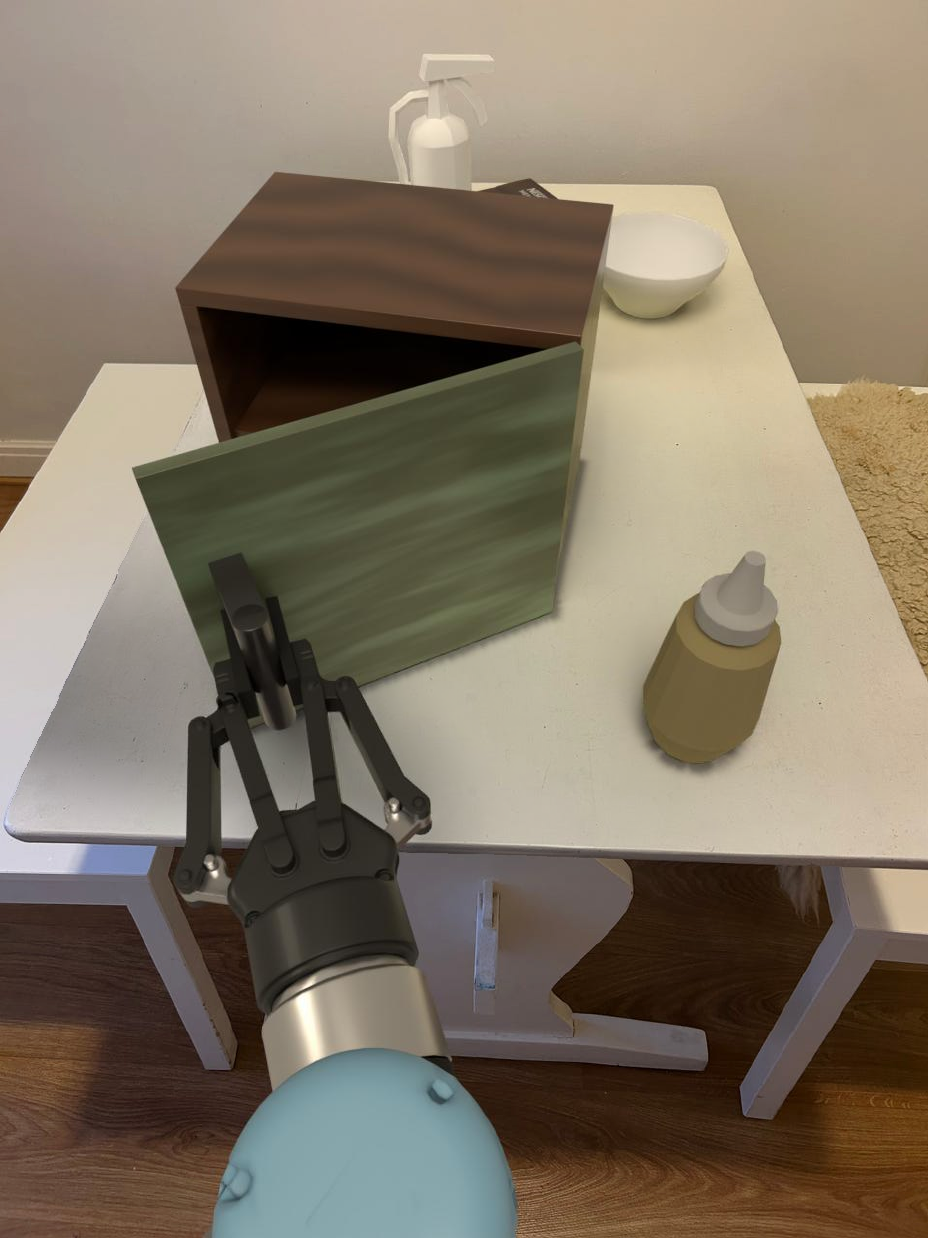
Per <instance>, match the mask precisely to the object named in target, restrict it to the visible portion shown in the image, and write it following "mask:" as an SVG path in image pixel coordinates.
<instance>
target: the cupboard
mask: <svg viewBox="0 0 928 1238" xmlns="http://www.w3.org/2000/svg"><path fill="white" fill-rule="evenodd" d="M479 191H480V190H472V191H469V190H459V189H448V188H438V187H428V186H417V185H411V184H409V185H407V184H400V183H396V182H386V181H375V180H364V179H355V178H343V177H334V176H323V175H314V174H313V175H312V174H301V173H294V172H293V173H292V172H284V171H283V172H281V171H274V172H273V173H272V175H270V177H269V178H268V179H267V180H266V181H265V183H263V185H262V186H261V187H260V189H258V191H257V192H256V193H255V194H254V195H253V197H252V198H251V199H250V200H249V201H248V202H247V204H245V206H244V207H243V208H242V209H241V211H239V212H238V214H237V215H236V216H235V217H234V218H233V220H232V221H231V222H230V223H229V224H228V225H227V226H226V228H224V230H223V231H222V233H221V234H219V236H218V237H217V238H216V239H215V241H214V242H213V243H212V244H211V245H210V246H209V247H208V249H207V250H206V251H205V252H204V254H202V255H201V256H200V258H199V259H198V260H197V261H196V262H195V264H194V265H193V266H192V267H191V268H190V269H189V270H188V272H187V273H186V274H185V275H184V277H182V279H181V280H180V281H179V282H178V284H177V285H176V286H175V287H174V289H175V292H176V296H177V299H178V303H179V307H180V311H181V313H182V317H183V321H184V324H185V329H186V332H187V335H188V338H189V342H190V346H191V350H192V353H193V357H194V359H195V363H196V367H197V371H198V374H199V377H200V380H201V385H202V388H203V391H204V395H205V399H206V402H207V406H208V409H209V413H210V415H211V416H210V417H211V421H212V424H213V427H214V432H215V434H216V437H217V441H218V443H220V442H224V441H227V440H231V439H234V438H238V437H241V436H245V435H248V434H252V433H255V432H259V431H262V430H266V429H269V428H273V427H276V426H280V425H283V424H287V423H290V422H294V421H297V420H301V419H304V418H308V417H311V416H315V415H319V414H322V413H326V412H329V411H333V410H336V409H340V408H343V407H347V406H350V405H354V404H357V403H361V402H364V401H368V400H371V399H375V398H378V397H382V396H385V395H389V394H392V393H396V392H399V391H403V390H406V389H410V388H413V387H417V386H421V385H424V384H428V383H431V382H435V381H438V380H442V379H445V378H449V377H452V376H456V375H459V374H463V373H466V372H470V371H473V370H477V369H480V368H484V367H487V366H491V365H494V364H498V363H501V362H505V361H508V360H512V359H516V358H519V357H523V356H526V355H530V354H533V353H537V352H540V351H544V350H547V349H551V348H554V347H558V346H561V345H565V344H568V343H572V342H577V343H578V344H579V345H580V346H581V347H582V348H583V349H584V354H583V362H582V370H581V378H580V386H579V395H578V403H577V411H576V419H575V427H574V435H573V444H572V452H571V460H570V468H569V476H568V485H567V493H566V501H565V509H564V517H563V525H562V534H561V542H560V550H559V558H558V564H559V562H560V559H561V553H562V549H563V544H564V539H565V536H566V535H565V534H566V531H567V524H568V520H569V516H570V512H571V511H570V510H571V505H572V500H573V497H574V496H573V495H574V491H575V486H576V480H577V476H578V472H579V467H580V461H581V453H582V447H583V440H584V432H585V425H586V424H585V423H586V416H587V408H588V401H589V393H590V386H591V379H592V371H593V363H594V356H595V349H596V342H597V341H596V340H597V335H598V334H597V333H598V327H599V318H600V311H601V303H602V298H603V297H602V296H603V290H604V288H603V282H604V274H605V267H606V259H607V252H608V244H609V237H610V229H611V221H612V216H613V213H614V204H612V203H604V202H603V203H601V202H593V201H592V202H591V201H581V200H571V199H563V198H561V199H560V198H558V199H552V198H541V197H531V196H521V195H510V194H500V193H490V192H479ZM558 568H559V565H558V566H557V569H558Z"/></svg>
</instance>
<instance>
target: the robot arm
mask: <svg viewBox="0 0 928 1238" xmlns="http://www.w3.org/2000/svg"><path fill="white" fill-rule="evenodd" d="M265 600H266V604H267V608H268V612H269V616H270V620H271V624H272V628H273V632H274V636H275V639H276V643H277V647H278V650H279V654H280V659H281V663H282V667H283V671H284V675H285V679H286V682H287V686H288V689H289V693H290V696H291V700H292V703H293V707H294V706H298V705H301V704H303V708H302V709H303V715H304V721H305V729H306V735H307V736H306V738H307V743H308V752H309V760H310V766H311V767H310V768H311V774H312V788H313V796H314V800H312V801H310V802H309V803H307V804H305V805H303V806H302V807H300V808H296V809H281V810H280V809H279V806H278V803H277V800H276V798H275V794H274V792H273V789H272V786H271V783H270V780H269V778H268V775H267V772H266V769H265V767H264V763H263V761H262V758H261V755H260V752H259V749H258V746H257V744H256V740H255V738H254V735H253V733H252V728H250V726H249V724H248V719H251V718H255V717H259V716H260V713H259V708H258V704H257V699H256V695H255V690H254V688H253V685H252V682H251V679H250V676H249V673H248V670H247V667H246V664H245V661H244V658H243V655H242V652H241V649H240V646H239V644H238V641H237V639H236V636H235V634H234V631H233V629H232V626H231V624H230V621H229V619H228V616H227V614H226V611H225V609H222V610H220V611H221V615H222V620H223V625H224V630H225V635H226V639H227V644H228V649H229V654H230V659H227V660H223V661H220V662H216V663H215V665H214V668H213V673H214V677H213V679H214V678H215V679H214V684H215V688H216V693H217V694H216V695H217V696H216V699H215V701H216V702H215V703H216V706H217V708H216V709H215V711H214V712H212V713H211V714H209V715H207V716H202V715H199V716H196V717H194V718H192V719H191V720H190V721H189V723H188V725H187V761H186V762H187V763H186V764H187V765H186V777H187V778H186V818H185V819H186V823H185V844H184V847H183V849H182V852H181V855H180V856H179V860H178V862H177V865H176V867H175V870H174V872H173V874H172V883H173V885H174V887H175V888H176V890H177V891H178V893H179V894H180V896H181V897H182V899H183V900H184V902H185V904H187V906H189V907H190V908H192V909H199V908H200V907H203V906H205V904H207V903H213V904H220V905H226V906H228V907H229V908H230V910H231V911H232V913H233V915H234V917H235V918H236V919H238V921H239V922H240V923H241V925H242V928H243V932H244V937H245V938H244V939H245V945H246V949H247V955H248V961H249V966H250V967H249V968H250V972H251V977H252V983H253V989H254V994H255V1001H256V1007H257V1008H258V1009H259V1011H261V1012H262V1013H264V1014H265V1015H266V1016H267V1017H266V1020H265V1021H264V1023H263V1024H262V1026H261V1036H262V1042H263V1047H264V1054H265V1058H266V1063H267V1069H268V1074H269V1079H270V1084H271V1090H272V1092H270V1094H269V1095H268V1096H267V1097H266V1098H265V1099H264V1100H263V1101H262V1102H261V1103H260V1104H259V1106H258V1107H257V1108H256V1110H255V1111H254V1113H253V1114H252V1115H251V1117H250V1118H249V1119H248V1121H247V1123H246V1125H245V1126H244V1128H243V1129H242V1131H241V1133H240V1134H239V1136H238V1137H237V1140H236V1141H235V1143H234V1146H233V1148H232V1150H231V1152H230V1154H229V1157H228V1164H227V1167H226V1169H225V1171H224V1173H223V1176H222V1177H221V1180H220V1183H219V1184H220V1185H219V1190H218V1195H217V1200H216V1203H215V1206H214V1209H213V1219H212V1224H211V1225H210V1226H209V1228H208V1229H207V1231H206V1232H205V1233H204V1234H203V1236H202V1237H201V1238H517V1233H516V1232H517V1231H516V1230H517V1228H518V1225H519V1221H520V1220H519V1217H518V1213H517V1209H518V1203H519V1202H518V1197H517V1193H516V1192H517V1191H516V1187H515V1183H514V1179H513V1174H512V1171H511V1168H510V1166H509V1163H508V1161H507V1157H506V1153H505V1151H504V1148H503V1145H502V1143H501V1141H500V1138H499V1137H498V1134H497V1132H496V1129H495V1128H494V1126H493V1124H492V1122H491V1121H490V1119H489V1118H488V1117H487V1115H486V1114H485V1112H484V1111H483V1109H482V1107H481V1106H480V1105H479V1103H478V1102H477V1101H476V1100H475V1098H474V1097H473V1096H472V1095H471V1093H470V1092H469V1091H468V1090H467V1089H466V1088H465V1087H464V1086H463V1085H462V1084H461V1083H460V1081H459V1080H458V1079H457V1077H456V1073H455V1069H454V1065H453V1062H452V1061H453V1058H452V1055H451V1052H450V1049H449V1045H448V1042H447V1039H446V1038H447V1037H446V1035H445V1032H444V1029H443V1026H442V1022H441V1019H440V1016H439V1012H438V1009H437V1007H436V1003H435V999H434V996H433V993H432V990H431V987H430V983H429V980H428V977H427V976H426V973H425V971H423V970H421V969H420V968H418V967H415V966H416V965H417V964H416V963H417V961H418V959H419V953H420V952H419V948H418V944H417V941H416V939H415V934H414V931H413V928H412V926H411V922H410V918H409V915H408V912H407V908H406V905H405V902H404V899H403V895H402V892H401V889H400V885H399V882H398V878H397V877H398V870H399V866H400V853H399V852H400V850H401V849H402V848H403V847H404V846H405V845H406V844H407V843H408V842H410V840H411V839H412V838H413V837H414V836H416V835H417V836H424V835H427V834H428V833H429V832H431V830H432V829H433V817H432V816H433V815H432V803H431V798H430V797H429V796H428V795H427V794H426V793H425V792H424V791H423V790H422V789H420V788H419V787H418V786H417V785H416V784H415V783H414V782H412V781H411V780H410V779H409V778H408V777H407V776H406V775H405V774H404V772H403V771H402V768H401V766H400V765H399V763H398V761H397V759H396V756H395V755H394V752H393V751H392V749H391V747H390V745H389V743H388V741H387V739H386V738H385V736H384V733H383V732H382V730H381V728H380V726H379V724H378V722H377V720H376V719H375V717H374V715H373V713H372V711H371V709H370V707H369V705H368V703H367V702H366V701H367V700H366V699H365V697H364V695H363V693H362V692H361V689H360V687H359V686H357V684H356V682H355V680H354V679H353V678H351V677H349V676H343V677H340V678H338V679H337V680H336V681H328V680H325V679H323V678H322V677H321V676H320V674H319V671H318V668H317V664H316V661H315V657H314V654H313V650H312V647H311V644H310V643H309V642H308V640H307V639H306V638H305V639H301V640H298V641H294V642H290V641H289V638H288V634H287V630H286V627H285V623H284V619H283V615H282V612H281V608H280V604H279V600H278V597H277V596H274V597H270V598H266V599H265ZM330 713H339V714H340V715H341V718H342V719H343V721H344V723H345V725H346V727H347V729H348V731H349V733H350V735H351V738H352V739H353V741H354V743H355V745H356V748H357V749H358V752H359V753H360V756H361V758H362V760H363V762H364V764H365V766H366V768H367V770H368V772H369V774H370V776H371V778H372V780H373V782H374V784H375V786H376V788H377V790H378V792H379V794H380V796H381V798H382V800H383V802H384V805H383V809H382V811H383V818H384V820H385V823H386V824H387V825H386V827H385V829H383V828H382V827H381V826H379V825H377V824H376V823H374V822H373V821H372V820H370V819H369V818H367V817H366V816H364V815H362V814H361V813H360V812H359V811H357V810H356V809H354V808H352V807H351V806H349V805H348V804H346V803H345V802H343V798H342V792H341V786H340V785H341V784H340V778H339V772H338V766H337V759H336V753H335V747H334V740H333V734H332V726H331V719H330ZM227 743H230V747H231V749H232V753H233V756H234V758H235V761H236V765H237V767H238V771H239V774H240V777H241V780H242V782H243V786H244V789H245V792H246V796H247V798H248V801H249V805H250V808H251V811H252V814H253V818H254V820H255V823H256V824H255V825H256V826H257V828H256V830H255V831H254V833H253V835H252V837H251V839H250V841H249V842H248V845H247V847H246V849H245V851H244V853H243V855H242V857H241V859H240V861H239V863H238V865H237V866H236V869H235V872H234V873H233V875H232V877H229V866H228V865H227V864H226V861H225V860H224V858H223V857H222V855H223V854H222V850H223V847H222V846H223V842H222V841H223V840H222V839H223V837H222V835H223V834H222V765H221V763H222V762H221V761H222V759H221V757H222V756H221V752H222V751H221V746H223V745H225V744H227Z"/></svg>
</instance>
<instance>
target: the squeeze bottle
mask: <svg viewBox="0 0 928 1238" xmlns="http://www.w3.org/2000/svg"><path fill="white" fill-rule="evenodd" d="M766 563H767V559H766V556H765V555H764V554H763V553H762V552H760V551H758V550H749V551H747V552H745V554H744V555H743V556H742V558H741V559H740V560H739V562H738V563H737V564H736V566H735V567H734V568H733V570H732V571H731V572H727V573H722V574H717V575H714V576H712V577H711V578H709V579H707V580H706V581H704V583H703V584H702V587H701V589H700V590H699V592H697V593H695V594H694V595H692V596H691V597H689V598H688V599H686V600H685V601H683V603H682V604H681V606H680V608H679V609H678V611H677V613H676V614H675V616H674V619H673V621H672V623H671V624H670V627H669V629H668V631H667V634H666V635H665V638H664V640H663V642H662V644H661V646H660V649H659V650H658V653H657V654H656V657H655V660H654V661H653V663H652V665H651V667H650V670H649V671H648V674H647V676H646V678H645V680H644V682H643V684H642V706H643V711H644V714H645V717H646V720H647V724H648V728H649V730H650V733H651V736H652V737H653V739H654V742H655V743H656V745H658V746H659V748H660V749H662V751H663V752H665V753H666V754H667V755H668V756H670V757H673V758H675V759H677V760H679V761H681V762H684V763H692V764H703V763H708V762H711V761H716V760H717V759H719V758H720V757H722V756H723V755H725V754H727V753H728V752H730V751H732V750H733V749H735V748H736V747H738V746H739V745H741V744H742V743H743V742H745V741H746V740H748V738H750V737H751V736H752V735H753V733H754V731H755V729H756V726H757V724H758V722H759V720H760V717H761V713H762V711H763V707H764V704H765V700H766V697H767V694H768V690H769V686H770V683H771V679H772V676H773V673H774V670H775V666H776V663H777V659H778V656H779V653H780V648H781V645H782V634H781V627H780V625H779V623H778V622H777V620H776V618H777V616H778V613H779V606H778V601H777V600H778V599H777V598H776V596H775V595H774V594H773V592H772V590H771V589H770V588H769V587H767V586H766V585H765V575H766V574H765V573H766Z"/></svg>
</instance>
